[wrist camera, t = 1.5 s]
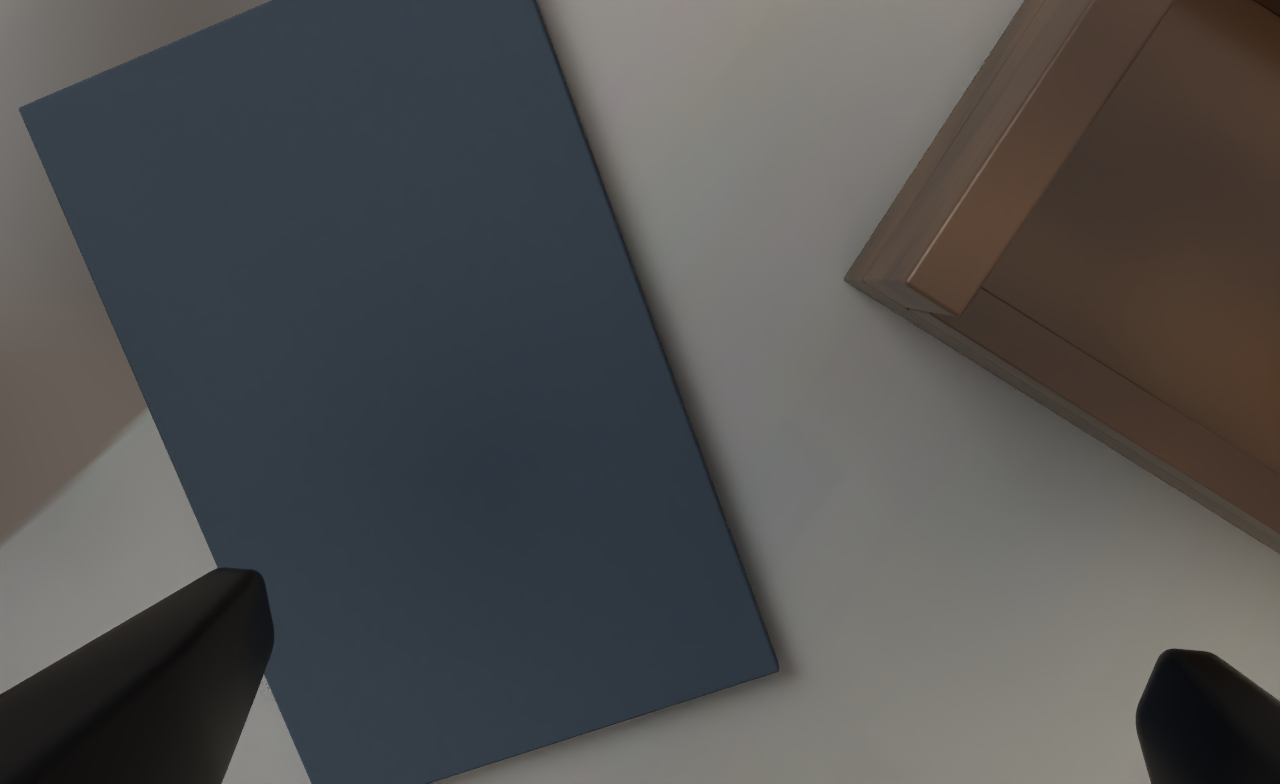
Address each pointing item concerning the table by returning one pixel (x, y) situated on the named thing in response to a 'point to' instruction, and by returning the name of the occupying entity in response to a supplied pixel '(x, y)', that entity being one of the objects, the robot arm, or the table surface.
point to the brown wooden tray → (1115, 235)
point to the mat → (406, 377)
